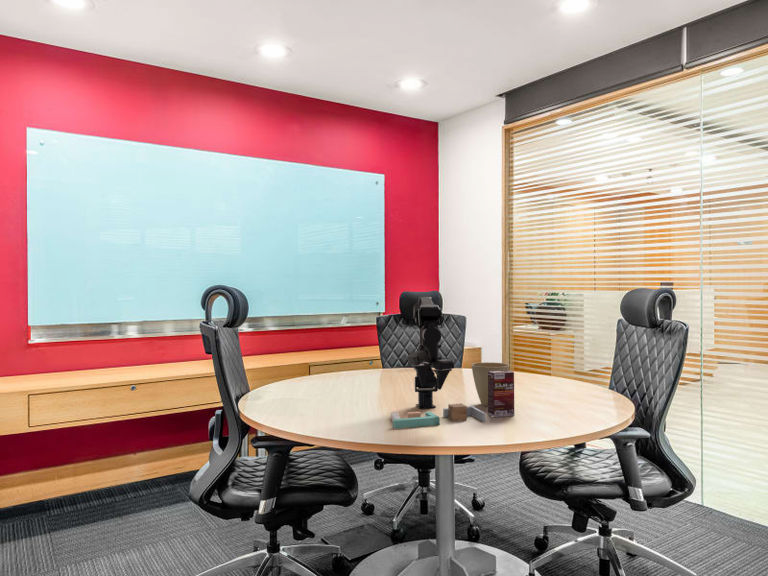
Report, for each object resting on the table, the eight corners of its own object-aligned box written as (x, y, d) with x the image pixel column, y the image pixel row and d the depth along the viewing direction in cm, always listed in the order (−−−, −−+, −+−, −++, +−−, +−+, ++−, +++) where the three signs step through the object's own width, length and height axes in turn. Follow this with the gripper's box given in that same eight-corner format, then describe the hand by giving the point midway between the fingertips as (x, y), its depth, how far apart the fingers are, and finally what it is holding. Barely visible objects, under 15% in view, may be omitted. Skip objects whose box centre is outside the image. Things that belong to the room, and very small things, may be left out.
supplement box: (494, 417, 193) (493, 373, 193) (487, 414, 198) (486, 371, 198) (515, 415, 196) (514, 371, 196) (508, 412, 200) (508, 370, 200)
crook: (387, 423, 189) (387, 415, 189) (430, 419, 193) (430, 411, 193) (394, 429, 180) (394, 421, 180) (439, 425, 185) (439, 417, 185)
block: (448, 418, 194) (448, 404, 194) (461, 417, 195) (461, 403, 195) (453, 421, 189) (453, 407, 189) (466, 420, 191) (466, 406, 191)
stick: (394, 425, 186) (394, 418, 186) (390, 418, 196) (390, 412, 196) (401, 425, 186) (401, 418, 186) (396, 418, 196) (396, 411, 196)
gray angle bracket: (442, 416, 197) (442, 407, 197) (472, 413, 200) (471, 405, 200) (453, 423, 185) (453, 415, 185) (485, 421, 188) (485, 412, 188)
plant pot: (510, 409, 206) (509, 367, 206) (471, 408, 209) (470, 367, 209) (509, 401, 221) (508, 362, 221) (472, 400, 224) (472, 361, 224)
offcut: (407, 419, 194) (407, 412, 194) (419, 418, 195) (419, 411, 195) (408, 420, 192) (408, 413, 192) (420, 419, 193) (420, 412, 193)
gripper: (395, 341, 188) (396, 386, 188) (428, 345, 172) (429, 394, 172) (420, 339, 194) (421, 383, 194) (454, 343, 179) (455, 390, 178)
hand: (431, 387), depth 185 cm, fingers open, 9 cm apart
